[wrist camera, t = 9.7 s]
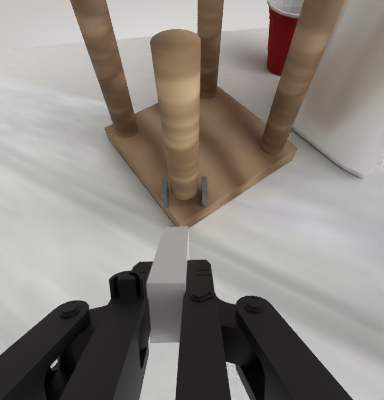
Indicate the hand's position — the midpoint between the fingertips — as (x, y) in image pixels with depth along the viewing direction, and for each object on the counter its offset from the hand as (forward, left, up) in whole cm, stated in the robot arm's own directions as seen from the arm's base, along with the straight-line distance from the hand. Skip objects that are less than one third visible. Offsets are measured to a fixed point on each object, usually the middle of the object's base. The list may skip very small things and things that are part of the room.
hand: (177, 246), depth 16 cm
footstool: (+20, -7, -14) cm, 25 cm away
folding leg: (+10, -3, -9) cm, 14 cm away
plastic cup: (+36, -29, -14) cm, 48 cm away
